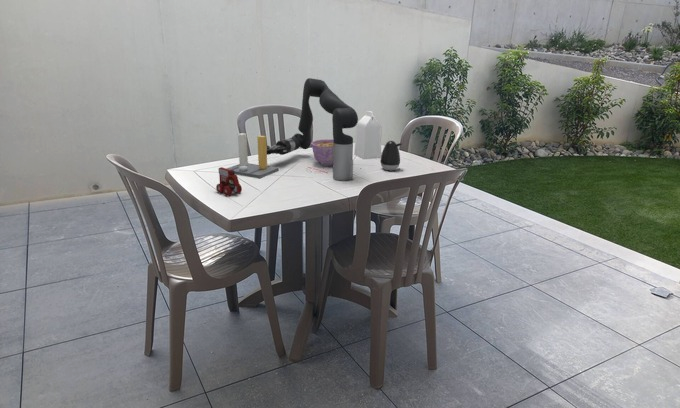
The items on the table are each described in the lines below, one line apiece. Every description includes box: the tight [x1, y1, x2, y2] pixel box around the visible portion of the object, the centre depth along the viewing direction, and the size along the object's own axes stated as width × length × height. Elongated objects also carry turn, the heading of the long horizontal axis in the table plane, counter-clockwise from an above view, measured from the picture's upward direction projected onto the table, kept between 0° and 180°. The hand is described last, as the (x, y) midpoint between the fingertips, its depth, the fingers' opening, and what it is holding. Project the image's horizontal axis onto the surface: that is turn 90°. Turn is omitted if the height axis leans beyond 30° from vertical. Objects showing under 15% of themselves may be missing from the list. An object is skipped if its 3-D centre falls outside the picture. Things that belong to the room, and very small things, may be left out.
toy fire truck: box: [215, 166, 243, 197], centre depth 185 cm, size 7×12×10 cm, turn 50°
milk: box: [353, 110, 382, 160], centre depth 251 cm, size 12×12×26 cm
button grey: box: [239, 166, 248, 172], centre depth 214 cm, size 4×4×2 cm
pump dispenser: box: [380, 140, 402, 171], centre depth 225 cm, size 10×10×15 cm
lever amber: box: [256, 135, 268, 169], centre depth 216 cm, size 3×3×16 cm
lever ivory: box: [237, 132, 249, 166], centre depth 221 cm, size 3×3×16 cm
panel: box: [226, 162, 280, 179], centre depth 218 cm, size 22×16×2 cm
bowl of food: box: [310, 139, 333, 167], centre depth 234 cm, size 20×20×12 cm
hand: (266, 152), depth 219 cm, fingers closed
